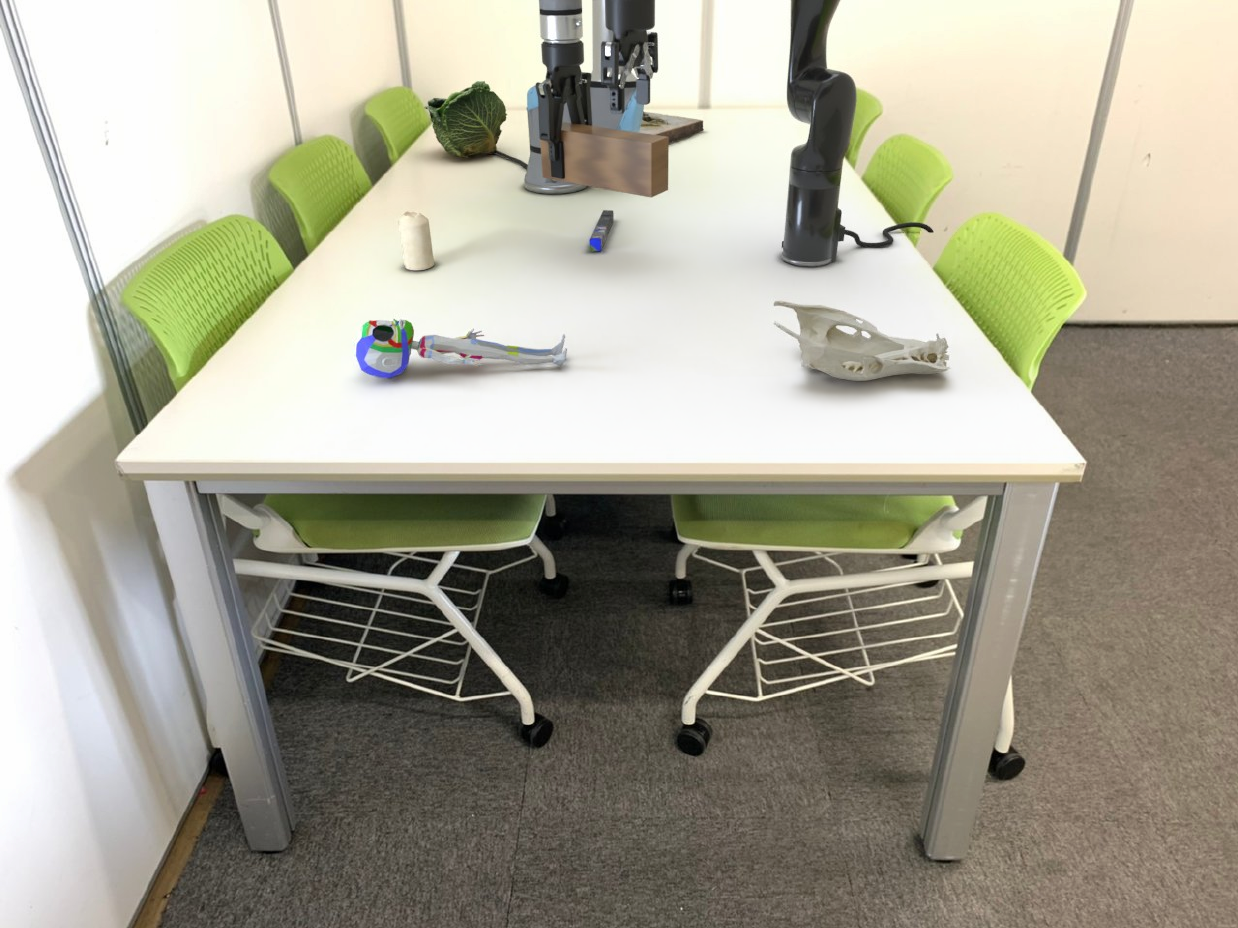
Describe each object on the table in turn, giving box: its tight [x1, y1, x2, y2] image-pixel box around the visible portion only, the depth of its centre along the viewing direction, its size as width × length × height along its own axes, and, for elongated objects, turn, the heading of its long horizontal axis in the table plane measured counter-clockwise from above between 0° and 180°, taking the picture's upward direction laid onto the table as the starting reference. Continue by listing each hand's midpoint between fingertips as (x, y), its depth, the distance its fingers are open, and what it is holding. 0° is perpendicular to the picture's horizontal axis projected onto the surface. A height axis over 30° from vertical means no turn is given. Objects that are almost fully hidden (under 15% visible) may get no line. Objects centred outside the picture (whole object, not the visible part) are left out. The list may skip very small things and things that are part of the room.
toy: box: [353, 318, 568, 379], centre depth 130 cm, size 10×8×30 cm
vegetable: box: [424, 80, 508, 159], centre depth 237 cm, size 20×19×20 cm
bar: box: [540, 122, 670, 198], centre depth 165 cm, size 25×6×9 cm, turn 55°
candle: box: [397, 211, 435, 271], centre depth 166 cm, size 6×6×10 cm
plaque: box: [639, 110, 705, 144], centre depth 257 cm, size 30×7×30 cm
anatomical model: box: [773, 300, 952, 382], centre depth 127 cm, size 15×9×25 cm
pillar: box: [588, 209, 615, 252], centre depth 182 cm, size 2×2×20 cm
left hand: (568, 173), depth 171 cm, fingers closed on bar, 5 cm apart
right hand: (630, 108), depth 142 cm, fingers open, 8 cm apart
